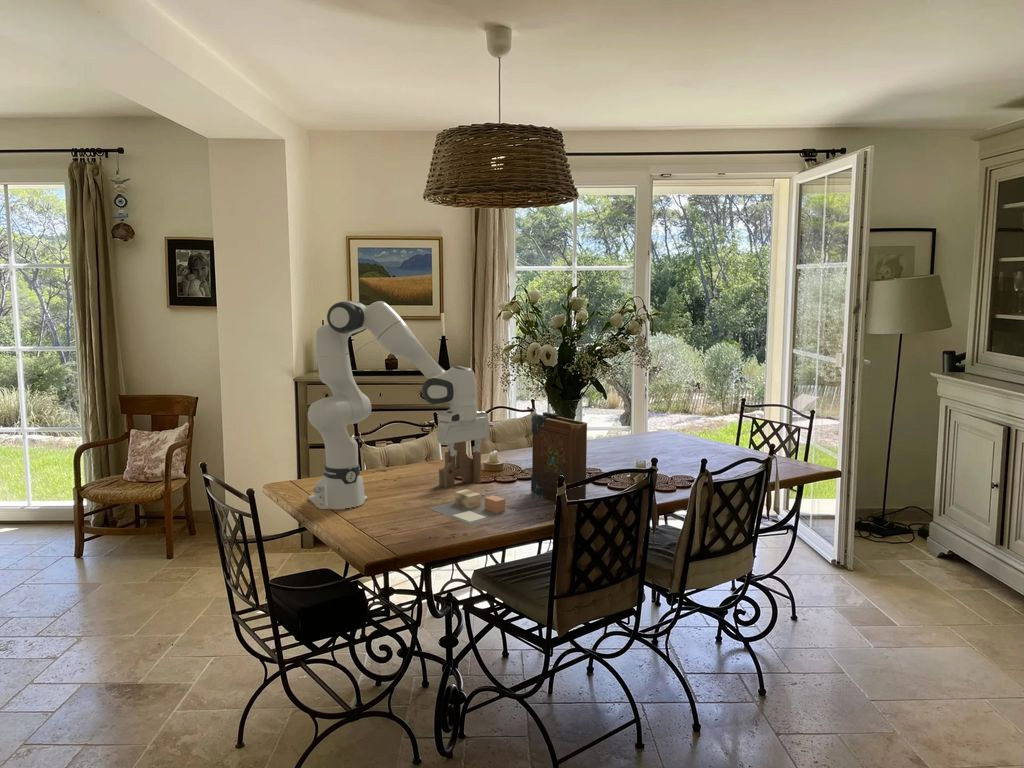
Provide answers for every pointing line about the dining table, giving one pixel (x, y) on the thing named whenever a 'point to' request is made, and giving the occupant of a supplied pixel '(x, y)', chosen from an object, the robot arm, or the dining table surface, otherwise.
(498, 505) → the brick top
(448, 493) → the dining table surface
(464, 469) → the wooden toy
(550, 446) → the decorative book
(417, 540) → the dining table surface
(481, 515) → the build board
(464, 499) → the brick base
